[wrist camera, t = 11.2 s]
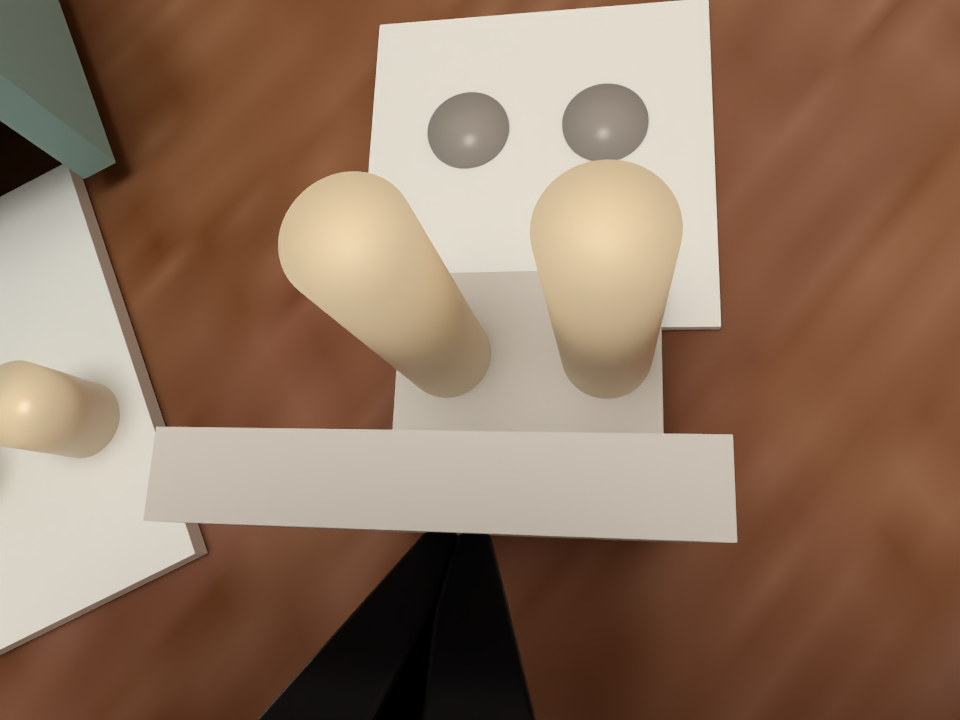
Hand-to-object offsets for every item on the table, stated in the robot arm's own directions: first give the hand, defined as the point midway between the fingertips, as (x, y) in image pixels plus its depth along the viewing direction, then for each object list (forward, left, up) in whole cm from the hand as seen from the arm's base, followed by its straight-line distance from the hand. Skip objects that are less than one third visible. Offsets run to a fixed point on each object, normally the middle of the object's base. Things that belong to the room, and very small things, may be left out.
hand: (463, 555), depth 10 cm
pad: (+3, -9, -8) cm, 13 cm away
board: (+14, +1, -8) cm, 17 cm away
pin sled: (+1, -3, -8) cm, 8 cm away
